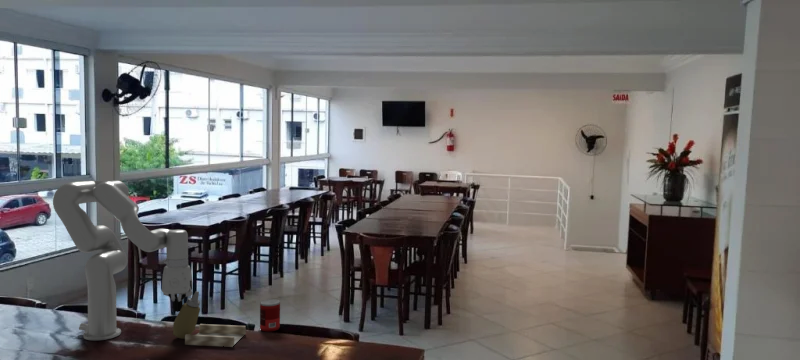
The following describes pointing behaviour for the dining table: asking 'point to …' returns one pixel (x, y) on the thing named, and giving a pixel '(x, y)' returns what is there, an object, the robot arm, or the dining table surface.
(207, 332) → the cradle
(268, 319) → the canned food
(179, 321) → the squeeze bottle
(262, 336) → the dining table surface
